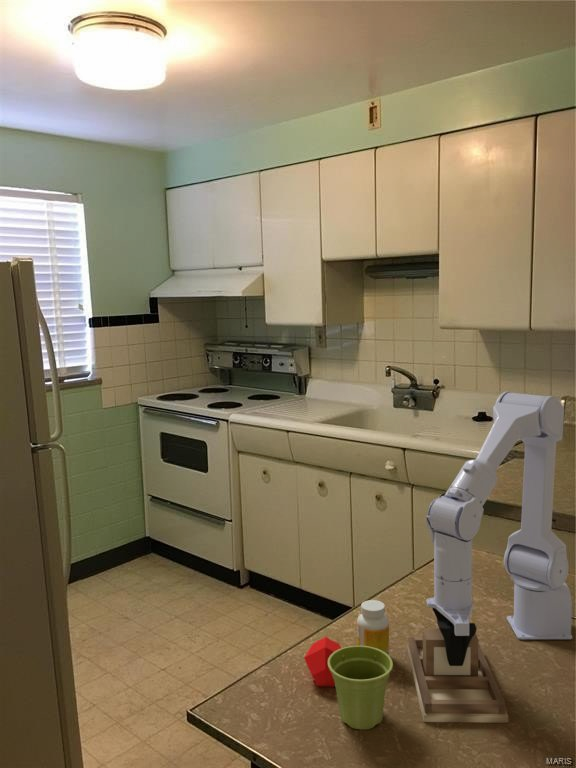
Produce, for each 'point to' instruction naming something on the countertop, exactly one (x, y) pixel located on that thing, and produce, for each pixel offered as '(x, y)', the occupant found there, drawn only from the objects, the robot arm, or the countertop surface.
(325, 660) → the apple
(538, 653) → the countertop surface
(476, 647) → the frame block
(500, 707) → the notch rack
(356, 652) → the plant pot
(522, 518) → the robot arm
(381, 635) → the supplement bottle
